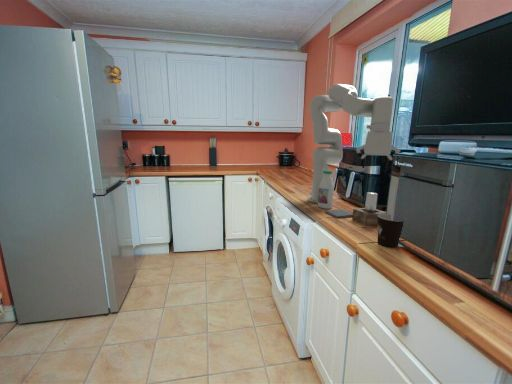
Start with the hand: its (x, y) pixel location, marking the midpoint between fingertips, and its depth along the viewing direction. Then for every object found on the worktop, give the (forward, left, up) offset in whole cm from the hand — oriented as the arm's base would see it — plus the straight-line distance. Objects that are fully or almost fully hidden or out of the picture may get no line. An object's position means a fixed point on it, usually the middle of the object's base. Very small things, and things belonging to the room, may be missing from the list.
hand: (375, 168), depth 112 cm
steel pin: (0, 0, -24) cm, 24 cm away
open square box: (0, 0, -24) cm, 24 cm away
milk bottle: (-27, -5, -24) cm, 37 cm away
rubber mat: (-13, -6, -24) cm, 28 cm away
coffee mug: (+22, -12, -24) cm, 35 cm away
